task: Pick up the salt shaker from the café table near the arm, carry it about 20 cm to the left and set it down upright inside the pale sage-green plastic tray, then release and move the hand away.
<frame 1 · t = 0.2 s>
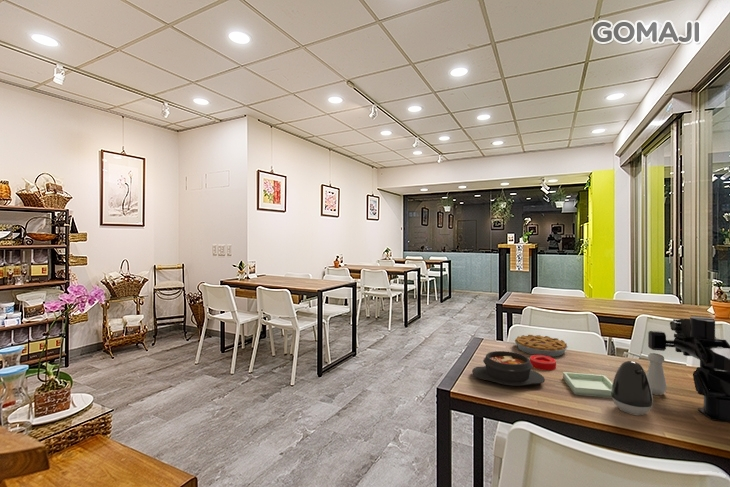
hand: (666, 336, 129), 16 cm above the table, tool horizontal, fingers open, 9 cm apart
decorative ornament: (542, 366, 145), on the table
pie: (540, 350, 165), on the table
salt shaker: (655, 393, 121), on the table
casserole: (507, 380, 132), on the table
dark grey egg shape: (631, 411, 108), on the table
tray: (590, 387, 124), on the table
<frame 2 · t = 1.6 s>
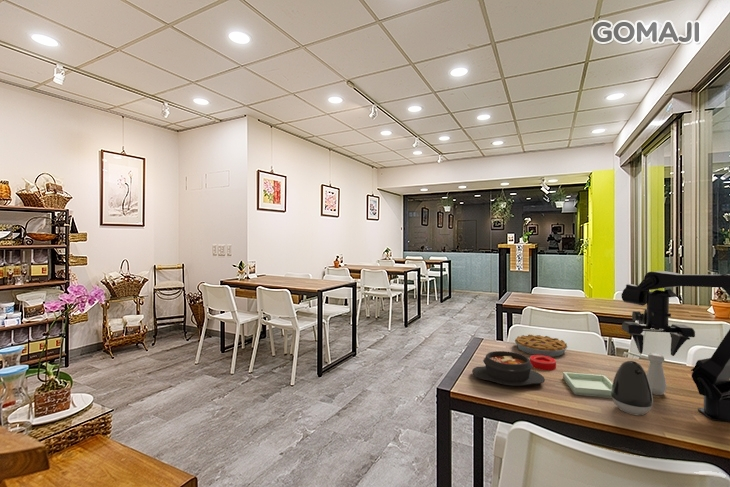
hand: (656, 354, 120), 13 cm above the table, tool pointing down, fingers open, 9 cm apart
nothing on the table moved.
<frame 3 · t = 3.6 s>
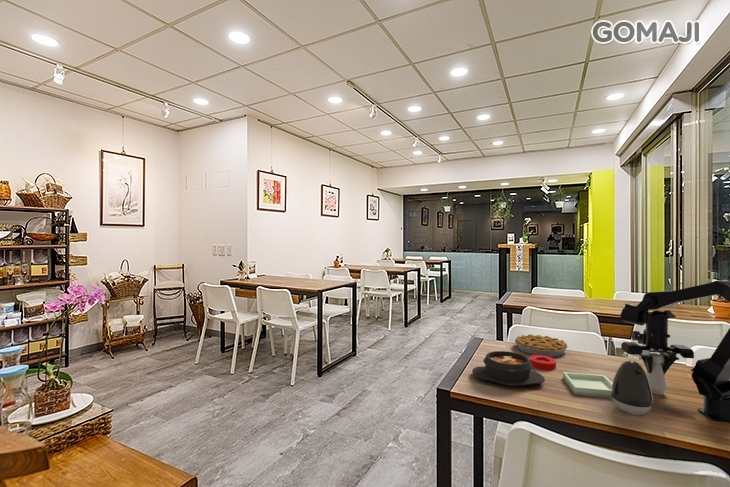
hand: (655, 374, 120), 6 cm above the table, tool pointing down, fingers closed on salt shaker, 3 cm apart
salt shaker: (655, 393, 121), on the table, touching gripper
everything else where it was.
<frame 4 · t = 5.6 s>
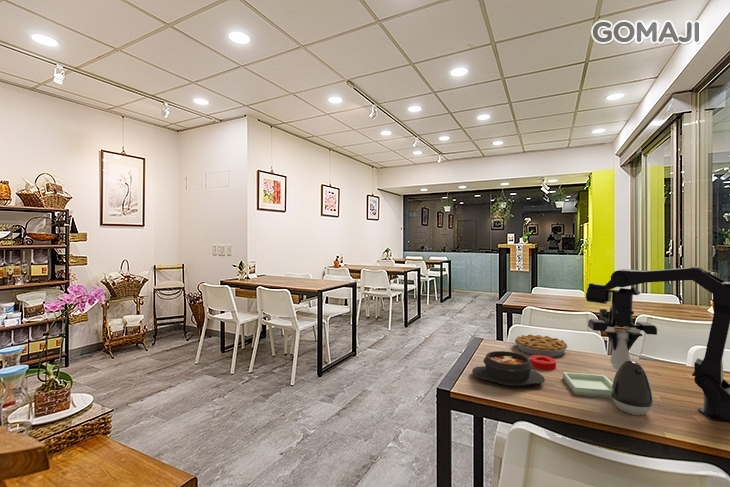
hand: (620, 351, 122), 13 cm above the table, tool pointing down, fingers closed on salt shaker, 3 cm apart
salt shaker: (620, 369, 123), point 7 cm above the table, touching gripper
everything else where it was.
when the fingers open (8 cm above the table, at t = 7.7 s): salt shaker drops 1 cm, resting on tray.
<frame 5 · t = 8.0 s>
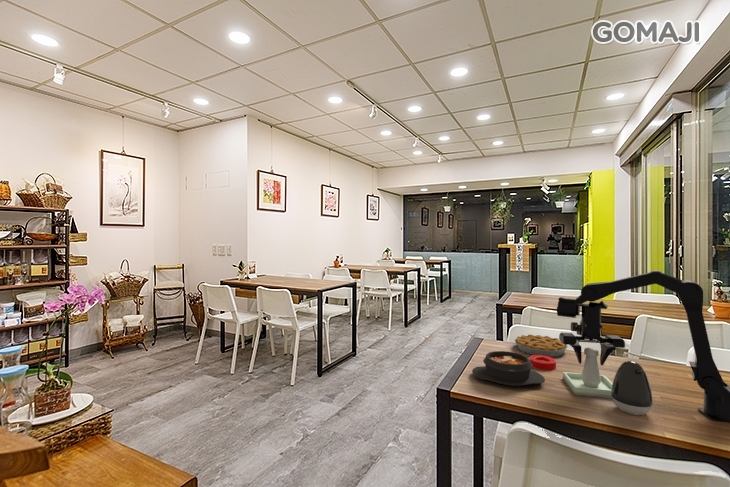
hand: (590, 364, 124), 8 cm above the table, tool pointing down, fingers open, 6 cm apart
salt shaker: (590, 386, 124), point 1 cm above the table, touching tray
everything else where it was.
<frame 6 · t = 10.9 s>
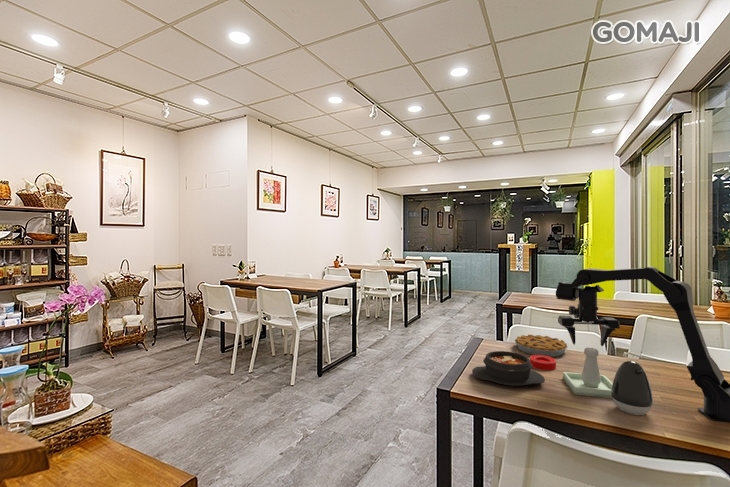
hand: (587, 345, 131), 13 cm above the table, tool pointing down, fingers open, 9 cm apart
nothing on the table moved.
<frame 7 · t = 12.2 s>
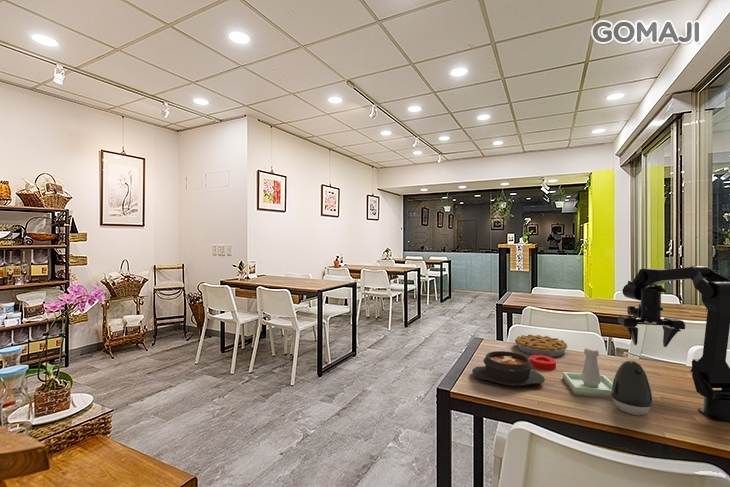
hand: (650, 345, 129), 13 cm above the table, tool pointing down, fingers open, 9 cm apart
nothing on the table moved.
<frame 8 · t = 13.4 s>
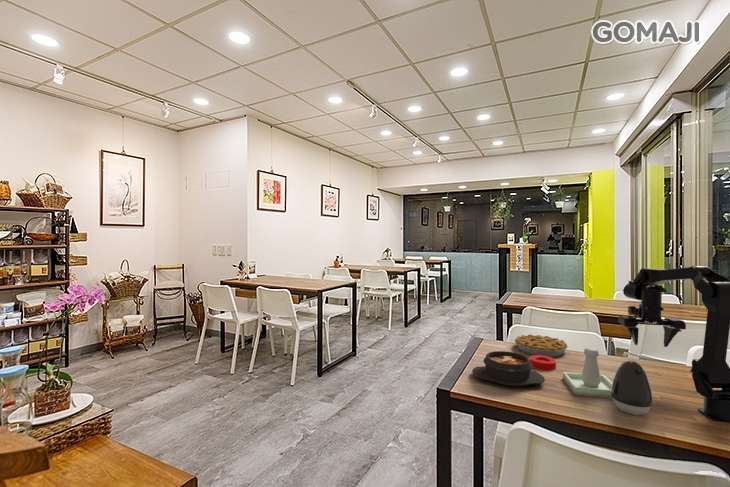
hand: (650, 345, 129), 13 cm above the table, tool pointing down, fingers open, 9 cm apart
nothing on the table moved.
at the end: salt shaker inside the target area on the tray (0.2 cm from its centre), point 0.6 cm above the tray's base; salt shaker tilted 0°; the gripper is holding nothing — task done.
